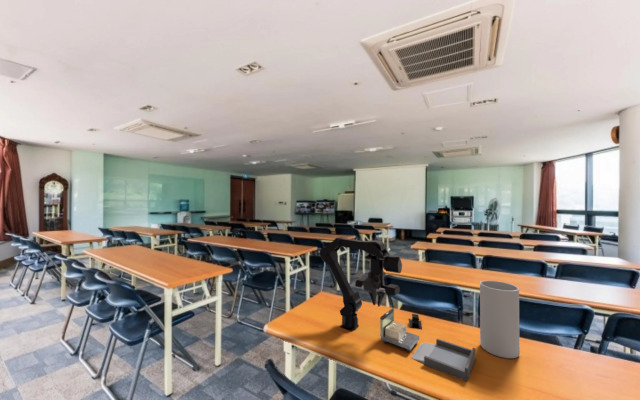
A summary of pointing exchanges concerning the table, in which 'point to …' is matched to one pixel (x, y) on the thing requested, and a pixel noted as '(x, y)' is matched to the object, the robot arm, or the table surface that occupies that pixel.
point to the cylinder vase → (499, 318)
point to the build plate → (415, 322)
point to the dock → (447, 358)
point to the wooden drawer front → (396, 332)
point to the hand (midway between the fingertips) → (376, 305)
